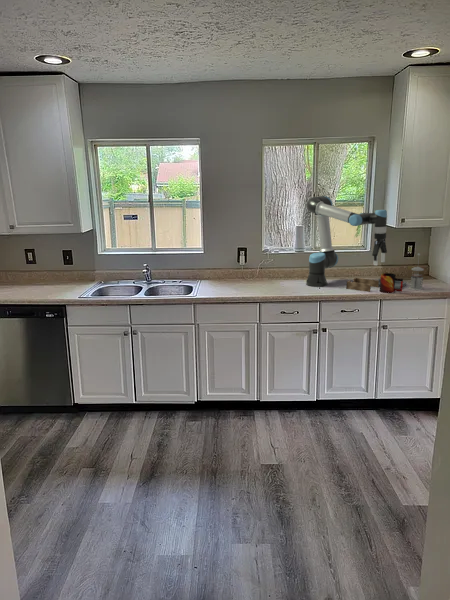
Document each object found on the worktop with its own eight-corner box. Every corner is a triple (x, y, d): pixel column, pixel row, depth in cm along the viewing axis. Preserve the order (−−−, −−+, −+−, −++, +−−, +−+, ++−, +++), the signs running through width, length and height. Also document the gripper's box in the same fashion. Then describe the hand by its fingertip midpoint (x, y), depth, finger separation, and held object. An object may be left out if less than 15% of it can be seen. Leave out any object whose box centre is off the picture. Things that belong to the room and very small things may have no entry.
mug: (402, 293, 292) (403, 276, 288) (381, 293, 293) (382, 276, 290) (398, 289, 301) (399, 273, 298) (377, 289, 302) (379, 273, 299)
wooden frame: (346, 288, 308) (346, 281, 307) (355, 284, 320) (355, 277, 319) (369, 291, 298) (370, 284, 296) (378, 287, 310) (378, 280, 308)
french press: (424, 287, 305) (427, 252, 298) (422, 291, 296) (425, 255, 289) (409, 286, 310) (412, 251, 303) (407, 289, 300) (410, 254, 294)
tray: (371, 285, 315) (371, 282, 314) (379, 281, 327) (379, 278, 326) (398, 289, 302) (399, 286, 302) (406, 284, 314) (406, 281, 314)
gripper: (378, 235, 280) (377, 266, 285) (392, 231, 299) (391, 261, 304) (367, 234, 285) (366, 266, 290) (381, 231, 303) (380, 260, 309)
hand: (379, 263), depth 297 cm, fingers open, 13 cm apart
